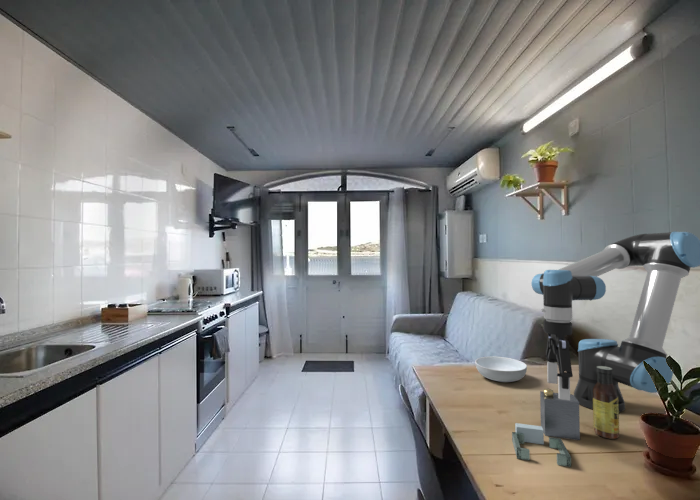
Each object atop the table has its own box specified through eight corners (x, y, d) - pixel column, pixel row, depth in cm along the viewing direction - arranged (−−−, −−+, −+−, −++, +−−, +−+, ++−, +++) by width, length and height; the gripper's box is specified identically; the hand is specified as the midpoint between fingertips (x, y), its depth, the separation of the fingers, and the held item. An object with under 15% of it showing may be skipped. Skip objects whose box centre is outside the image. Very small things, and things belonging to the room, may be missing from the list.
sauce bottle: (620, 442, 100) (619, 372, 100) (594, 436, 103) (592, 369, 104) (617, 432, 106) (616, 366, 106) (592, 427, 109) (591, 363, 109)
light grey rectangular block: (541, 440, 101) (541, 426, 102) (543, 444, 99) (543, 430, 99) (515, 436, 104) (515, 423, 104) (516, 440, 101) (516, 426, 101)
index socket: (561, 447, 98) (560, 438, 98) (571, 467, 88) (571, 457, 89) (512, 440, 101) (512, 431, 101) (517, 458, 92) (517, 449, 92)
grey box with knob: (573, 430, 107) (572, 389, 107) (579, 440, 101) (579, 396, 102) (540, 426, 110) (540, 386, 110) (545, 435, 104) (544, 393, 104)
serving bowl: (471, 370, 165) (470, 355, 165) (517, 371, 162) (517, 357, 162) (481, 386, 144) (481, 369, 144) (535, 388, 141) (534, 371, 141)
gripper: (535, 313, 119) (535, 376, 119) (553, 327, 96) (554, 405, 95) (560, 314, 117) (561, 378, 117) (585, 329, 93) (586, 409, 93)
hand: (558, 390), depth 106 cm, fingers open, 13 cm apart
